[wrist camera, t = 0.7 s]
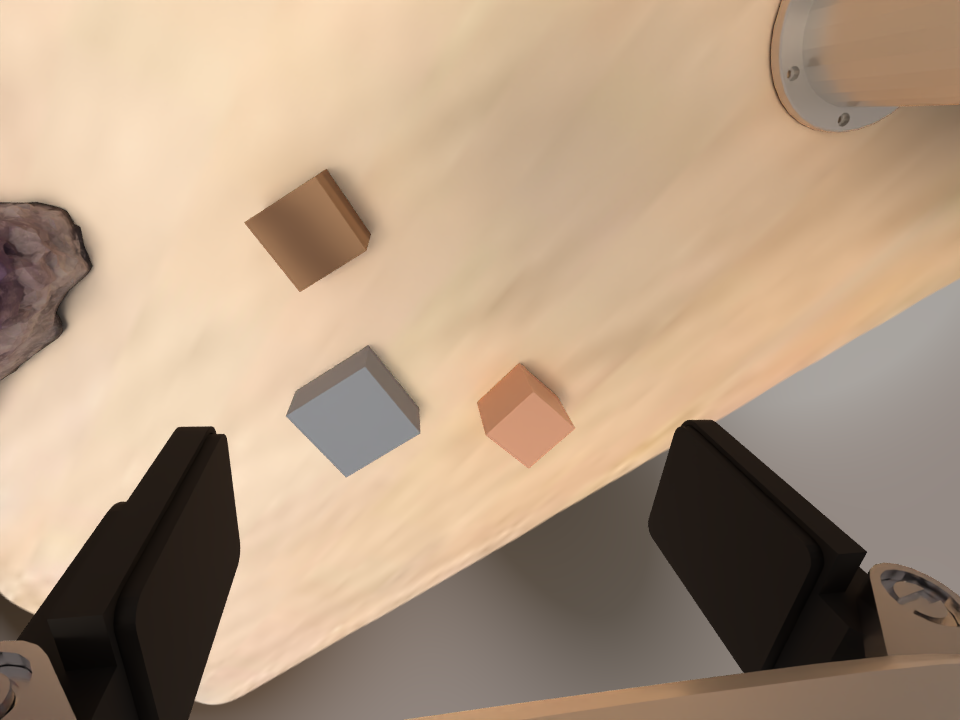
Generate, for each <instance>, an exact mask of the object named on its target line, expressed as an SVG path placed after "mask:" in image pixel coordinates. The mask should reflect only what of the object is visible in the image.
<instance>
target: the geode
mask: <svg viewBox="0 0 960 720" xmlns="http://www.w3.org/2000/svg"><path fill="white" fill-rule="evenodd" d="M91 267H92V264H91V261H90V259H89V256H88V254H87V252H86V249H85V246H84V242H83V238H82V233H81V228H80V227H79V226H77V225H75V224H74V222H73V221H72V219H71V217H70V215H69V214H68V212H67V211H65V210H63V209H61V208H58V207H55V206H51V205H47V204H42V203H38V202H30V203H0V380H1V379H3V378H4V377H6V376H8V375H9V374H11V373H13V372H14V371H16V370H17V369H18V366H19V365H21V364H22V363H24V362H25V361H27V360H28V359H29V358H30V357H31V356H32V355H34V354H35V353H37V352H38V351H40V350H41V349H43V348H44V347H46V346H47V345H49V344H50V343H51V342H53V341H54V340H55V339H57V338H58V337H59V336H60V334H61V333H62V331H63V328H62V324H61V321H60V318H59V317H58V315H57V314H56V311H57V309H58V307H59V305H60V303H61V301H62V300H63V298H64V297H65V295H66V293H67V292H68V290H70V289H71V288H72V287H73V286H74V285H76V284H77V283H78V282H79V281H80V280H81V279H83V278H84V277H85V276H86V275H87V274H88V272H89V270H90V269H91Z"/></svg>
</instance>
